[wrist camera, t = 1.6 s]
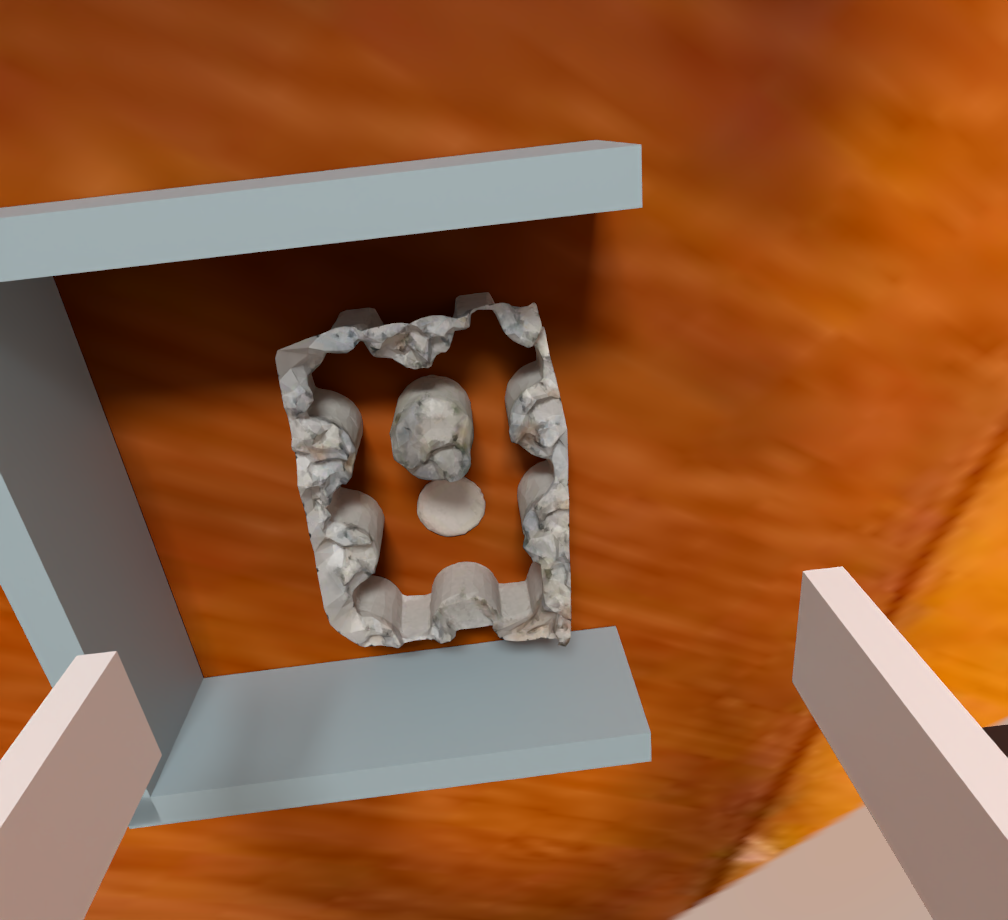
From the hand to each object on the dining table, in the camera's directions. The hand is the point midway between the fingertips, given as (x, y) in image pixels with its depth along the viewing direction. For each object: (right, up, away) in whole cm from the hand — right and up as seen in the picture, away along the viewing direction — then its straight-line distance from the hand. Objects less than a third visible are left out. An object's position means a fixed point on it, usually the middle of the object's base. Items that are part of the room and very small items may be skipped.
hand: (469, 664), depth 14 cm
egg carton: (-1, +4, +9) cm, 10 cm away
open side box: (-4, +4, +9) cm, 10 cm away
